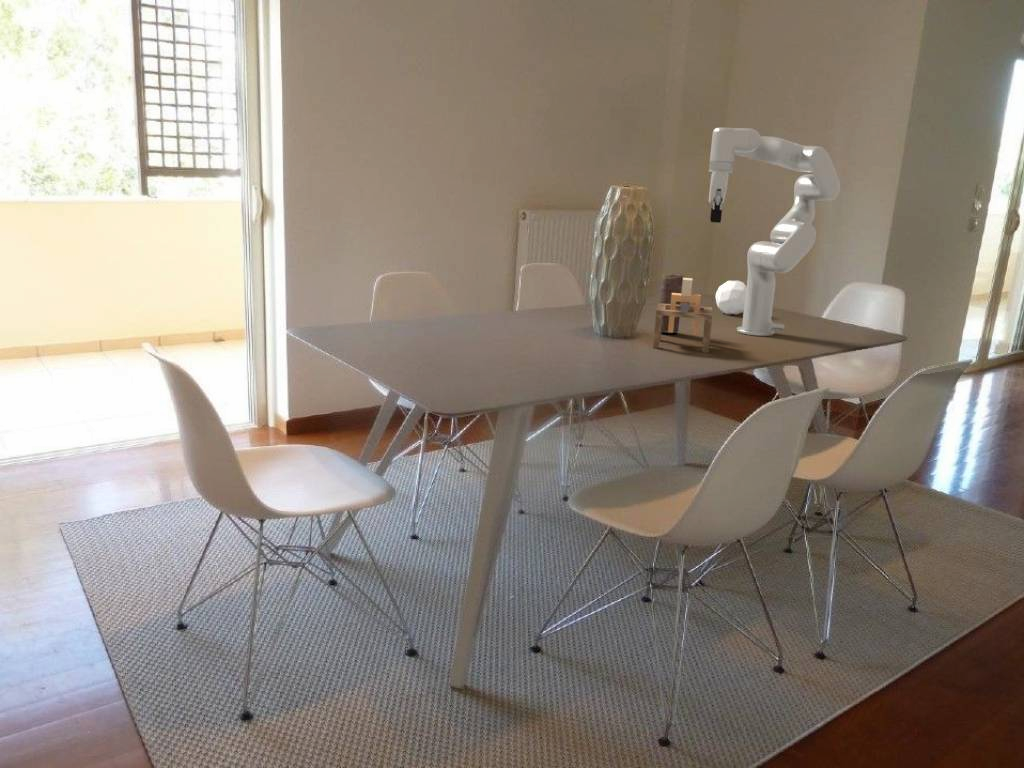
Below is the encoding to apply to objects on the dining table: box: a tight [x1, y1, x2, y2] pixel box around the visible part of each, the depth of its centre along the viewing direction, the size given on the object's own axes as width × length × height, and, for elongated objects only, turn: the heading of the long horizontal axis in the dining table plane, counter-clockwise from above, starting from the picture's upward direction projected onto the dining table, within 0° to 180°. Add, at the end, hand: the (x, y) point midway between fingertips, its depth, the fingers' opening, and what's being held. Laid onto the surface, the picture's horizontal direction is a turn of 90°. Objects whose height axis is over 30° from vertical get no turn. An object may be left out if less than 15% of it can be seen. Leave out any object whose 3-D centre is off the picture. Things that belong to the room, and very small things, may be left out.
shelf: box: [652, 303, 714, 354], centre depth 277 cm, size 17×14×12 cm
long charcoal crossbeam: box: [680, 302, 690, 313], centre depth 275 cm, size 2×14×2 cm, turn 168°
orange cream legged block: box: [668, 277, 702, 336], centre depth 275 cm, size 9×5×17 cm, turn 78°
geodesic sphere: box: [715, 279, 747, 316], centre depth 340 cm, size 14×14×14 cm
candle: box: [659, 274, 685, 334], centre depth 295 cm, size 8×7×20 cm
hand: (715, 221), depth 286 cm, fingers open, 9 cm apart
